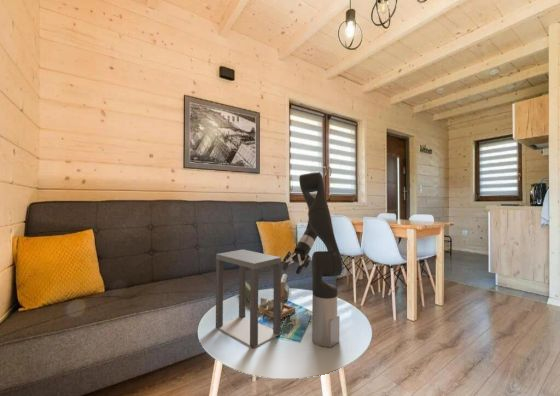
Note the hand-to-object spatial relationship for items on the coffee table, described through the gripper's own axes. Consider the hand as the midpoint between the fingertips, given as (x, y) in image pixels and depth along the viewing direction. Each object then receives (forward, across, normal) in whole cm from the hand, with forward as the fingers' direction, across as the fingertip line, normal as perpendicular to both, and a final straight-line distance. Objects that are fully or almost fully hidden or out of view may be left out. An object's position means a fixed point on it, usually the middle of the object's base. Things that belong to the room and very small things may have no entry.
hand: (290, 271), depth 136 cm
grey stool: (+34, +4, -10) cm, 36 cm away
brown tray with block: (+19, 0, +5) cm, 20 cm away
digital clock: (+8, -11, +16) cm, 21 cm away
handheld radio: (+18, -19, +6) cm, 27 cm away
